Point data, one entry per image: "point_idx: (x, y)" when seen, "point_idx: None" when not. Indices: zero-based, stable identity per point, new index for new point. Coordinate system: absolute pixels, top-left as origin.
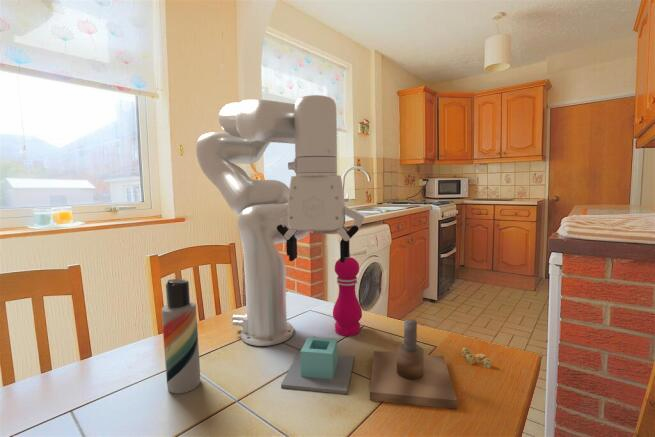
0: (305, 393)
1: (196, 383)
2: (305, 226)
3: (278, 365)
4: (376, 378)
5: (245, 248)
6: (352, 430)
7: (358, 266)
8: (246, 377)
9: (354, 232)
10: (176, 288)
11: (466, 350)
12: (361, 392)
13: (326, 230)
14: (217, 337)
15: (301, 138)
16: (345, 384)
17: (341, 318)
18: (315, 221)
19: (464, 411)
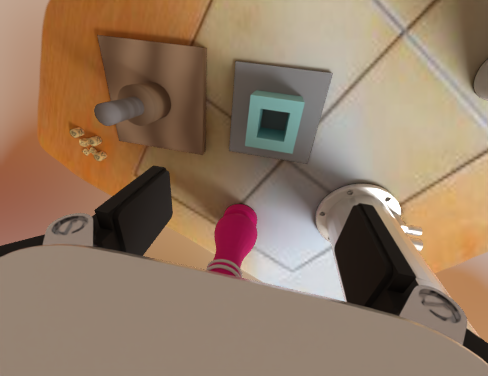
0: (294, 59)
1: (485, 65)
2: (314, 326)
3: (336, 133)
4: (195, 83)
5: None
6: None
7: None
8: (388, 99)
9: (9, 249)
10: None
11: (96, 154)
12: (218, 67)
13: (132, 255)
14: (438, 212)
15: None
16: (238, 78)
17: (243, 218)
18: (185, 362)
19: (97, 31)
